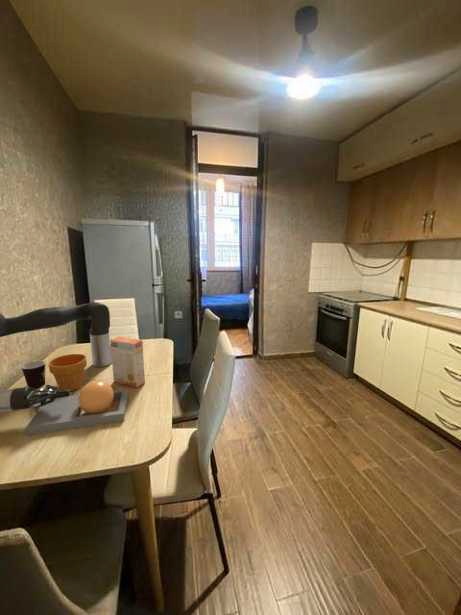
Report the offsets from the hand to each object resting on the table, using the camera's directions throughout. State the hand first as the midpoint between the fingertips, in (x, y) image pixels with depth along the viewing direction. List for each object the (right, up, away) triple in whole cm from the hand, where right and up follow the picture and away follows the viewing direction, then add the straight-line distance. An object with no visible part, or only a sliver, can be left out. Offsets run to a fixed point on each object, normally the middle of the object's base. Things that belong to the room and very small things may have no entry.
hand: (69, 392), depth 99 cm
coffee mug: (-28, -4, +24) cm, 37 cm away
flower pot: (-12, -5, +22) cm, 25 cm away
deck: (+4, -9, +3) cm, 10 cm away
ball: (+9, -3, +3) cm, 9 cm away
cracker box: (+12, -4, +26) cm, 29 cm away
